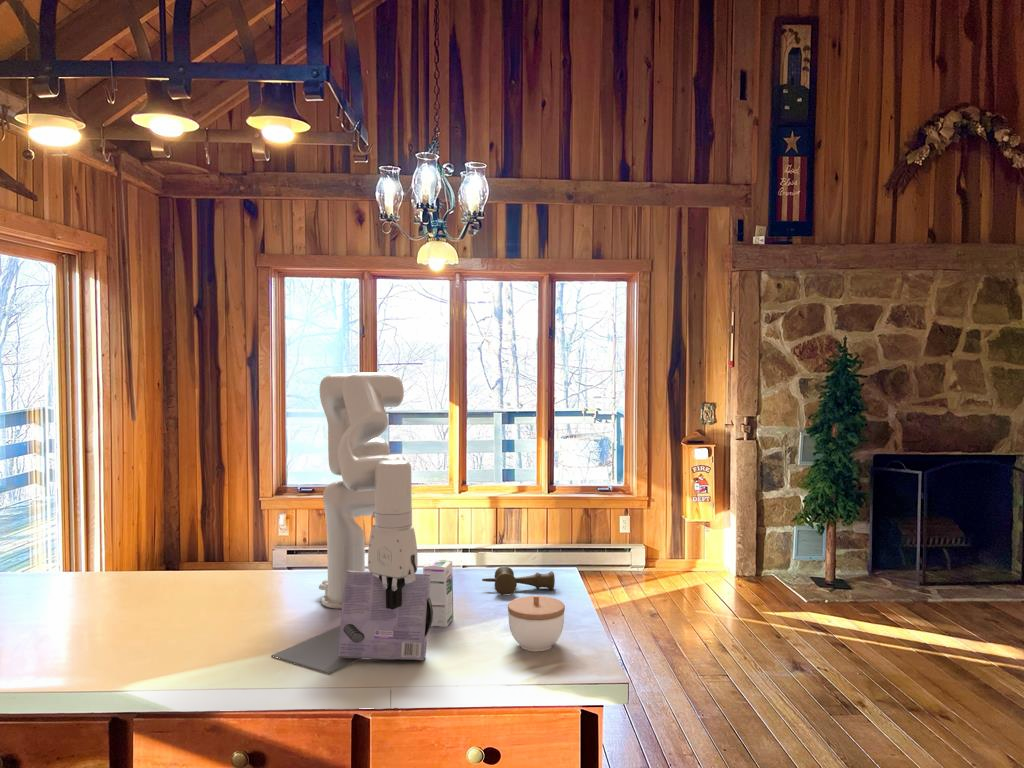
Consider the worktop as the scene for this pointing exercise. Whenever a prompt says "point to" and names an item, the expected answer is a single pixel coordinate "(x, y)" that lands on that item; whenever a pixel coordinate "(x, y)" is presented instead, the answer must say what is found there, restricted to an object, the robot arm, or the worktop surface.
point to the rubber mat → (318, 653)
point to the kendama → (519, 580)
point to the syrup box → (440, 591)
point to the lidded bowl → (536, 621)
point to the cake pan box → (384, 619)
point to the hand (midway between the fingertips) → (393, 607)
